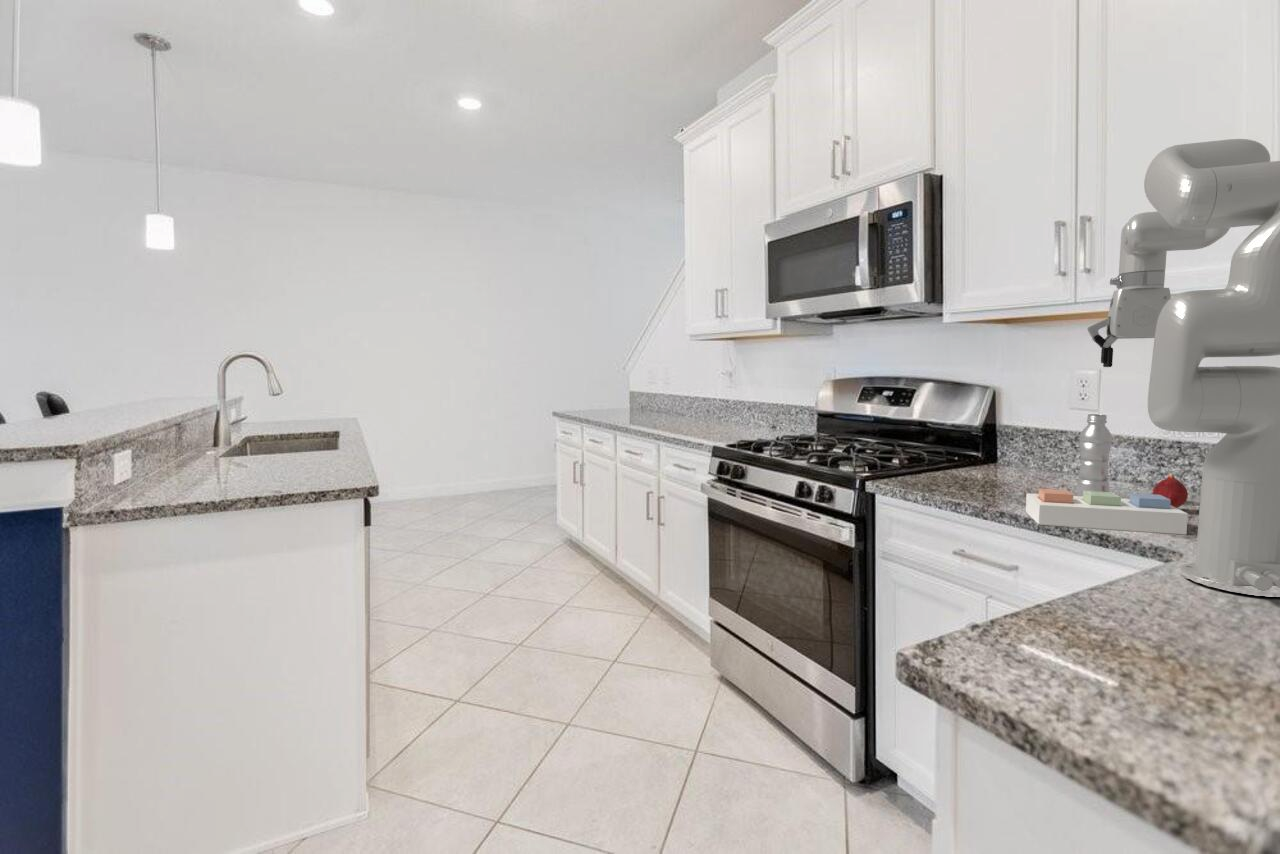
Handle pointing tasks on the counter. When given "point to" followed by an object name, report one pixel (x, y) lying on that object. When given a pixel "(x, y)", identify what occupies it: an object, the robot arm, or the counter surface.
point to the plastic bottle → (1094, 455)
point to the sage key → (1101, 498)
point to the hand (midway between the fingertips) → (1135, 366)
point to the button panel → (1107, 516)
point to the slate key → (1149, 501)
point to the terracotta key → (1055, 496)
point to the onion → (1172, 491)
